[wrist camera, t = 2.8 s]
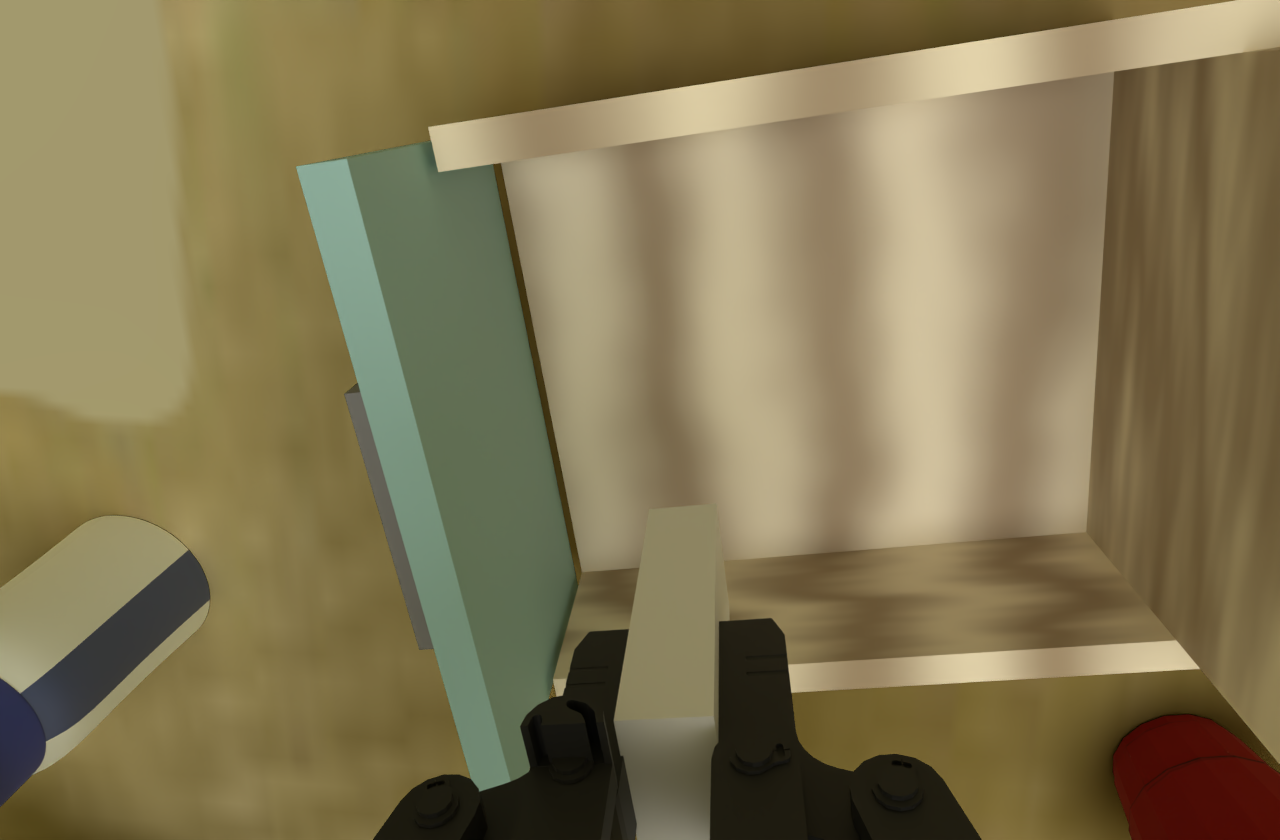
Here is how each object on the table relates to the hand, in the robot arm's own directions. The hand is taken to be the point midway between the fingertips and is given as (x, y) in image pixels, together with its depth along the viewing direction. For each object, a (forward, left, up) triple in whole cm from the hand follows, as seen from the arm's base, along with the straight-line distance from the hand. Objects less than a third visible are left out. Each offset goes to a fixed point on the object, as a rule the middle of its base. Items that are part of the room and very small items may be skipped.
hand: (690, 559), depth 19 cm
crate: (+5, 0, -17) cm, 18 cm away
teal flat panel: (-8, 0, -14) cm, 16 cm away
